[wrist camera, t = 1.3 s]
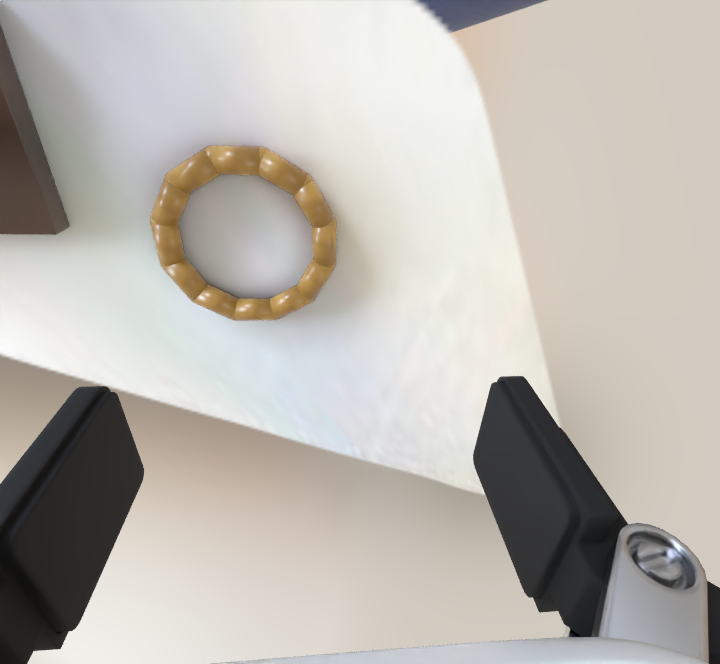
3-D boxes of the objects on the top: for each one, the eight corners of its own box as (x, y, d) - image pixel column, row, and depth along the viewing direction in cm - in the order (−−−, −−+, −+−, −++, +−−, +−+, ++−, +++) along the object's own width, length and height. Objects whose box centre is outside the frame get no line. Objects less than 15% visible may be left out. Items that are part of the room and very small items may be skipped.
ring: (137, 141, 18) (127, 145, 17) (336, 146, 19) (337, 150, 18) (177, 314, 23) (170, 325, 22) (335, 313, 24) (336, 323, 23)
